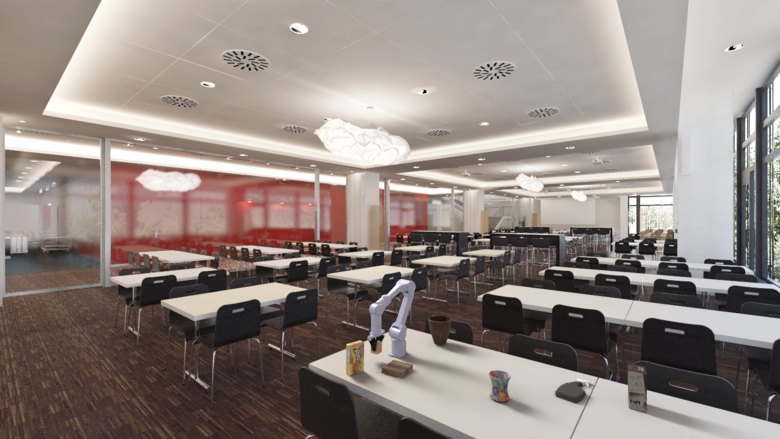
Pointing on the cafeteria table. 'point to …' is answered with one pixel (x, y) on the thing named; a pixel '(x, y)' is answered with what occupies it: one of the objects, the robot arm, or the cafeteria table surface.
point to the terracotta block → (378, 348)
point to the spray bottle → (572, 390)
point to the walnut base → (397, 368)
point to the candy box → (354, 357)
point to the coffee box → (637, 387)
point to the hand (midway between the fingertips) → (376, 349)
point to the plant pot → (439, 328)
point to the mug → (499, 385)
